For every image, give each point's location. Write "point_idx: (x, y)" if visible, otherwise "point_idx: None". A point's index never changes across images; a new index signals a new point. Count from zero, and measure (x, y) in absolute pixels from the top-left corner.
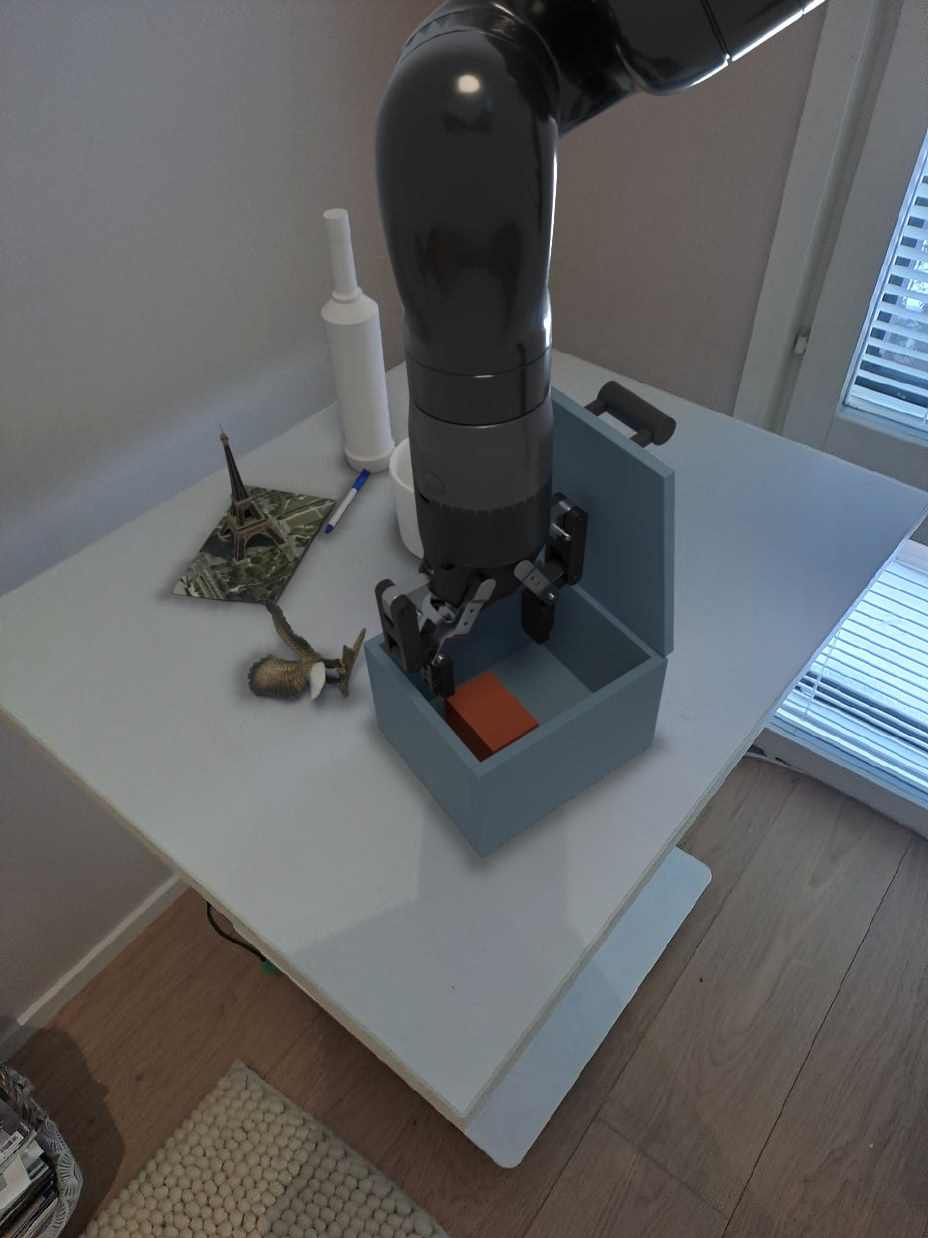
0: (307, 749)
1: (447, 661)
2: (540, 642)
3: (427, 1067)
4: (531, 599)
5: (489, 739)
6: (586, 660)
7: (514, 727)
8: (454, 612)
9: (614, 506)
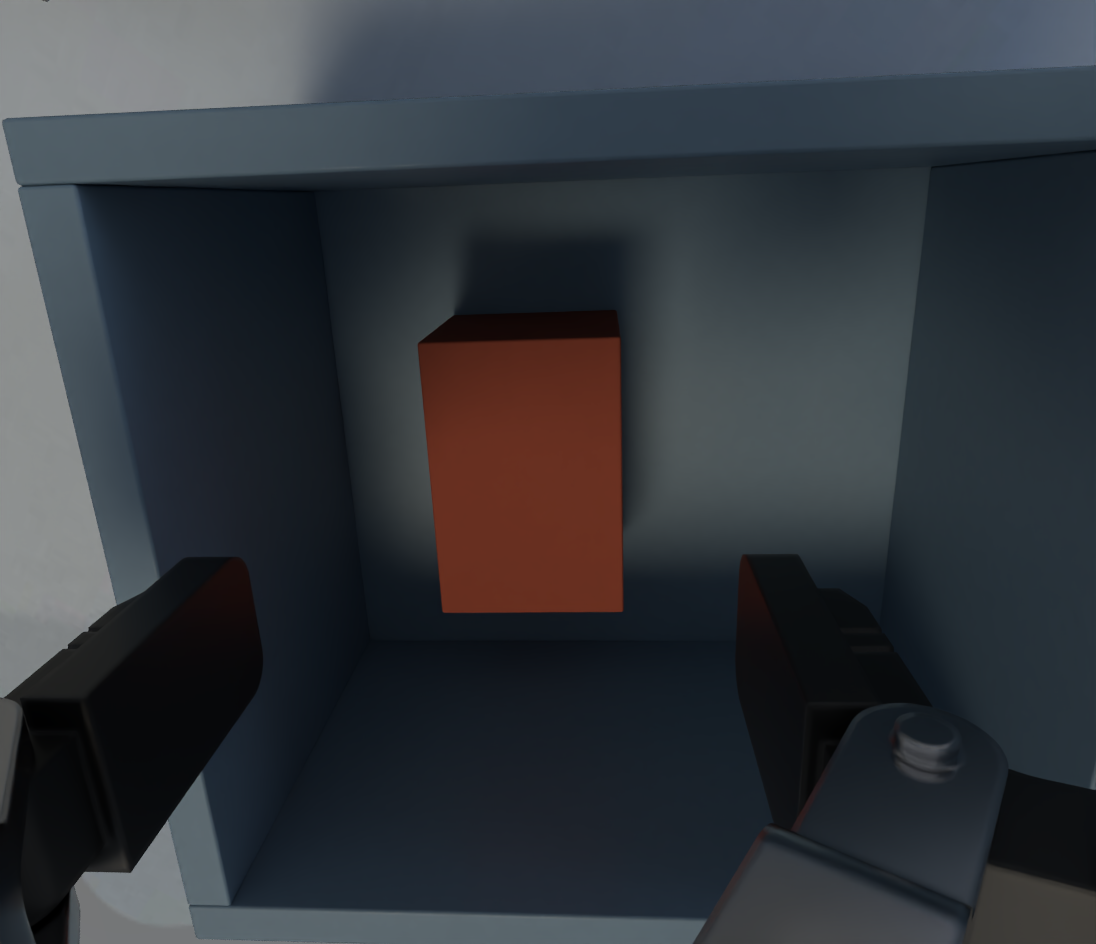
0: (65, 100)
1: (102, 864)
2: (739, 694)
3: (91, 874)
4: (802, 794)
5: (457, 573)
6: (951, 460)
7: (548, 582)
8: (570, 165)
9: None
